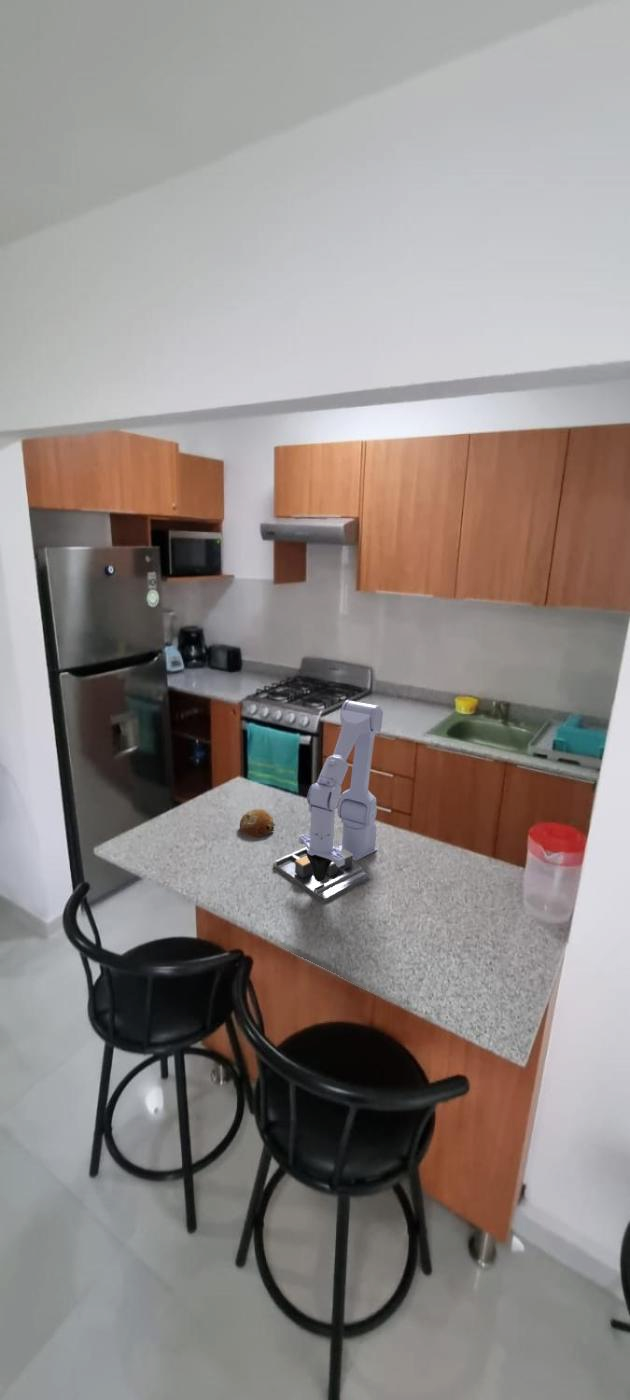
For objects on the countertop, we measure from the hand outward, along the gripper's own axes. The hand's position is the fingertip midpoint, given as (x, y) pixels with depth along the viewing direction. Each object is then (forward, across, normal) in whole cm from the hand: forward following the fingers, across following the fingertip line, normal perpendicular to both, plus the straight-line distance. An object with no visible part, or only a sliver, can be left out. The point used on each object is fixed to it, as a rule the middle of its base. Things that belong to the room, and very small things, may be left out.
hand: (319, 879), depth 140 cm
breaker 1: (+1, -2, +5) cm, 6 cm away
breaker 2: (+1, -2, +10) cm, 11 cm away
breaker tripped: (+1, -6, 0) cm, 6 cm away
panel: (+3, -5, +5) cm, 8 cm away
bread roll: (+3, -34, +6) cm, 34 cm away
